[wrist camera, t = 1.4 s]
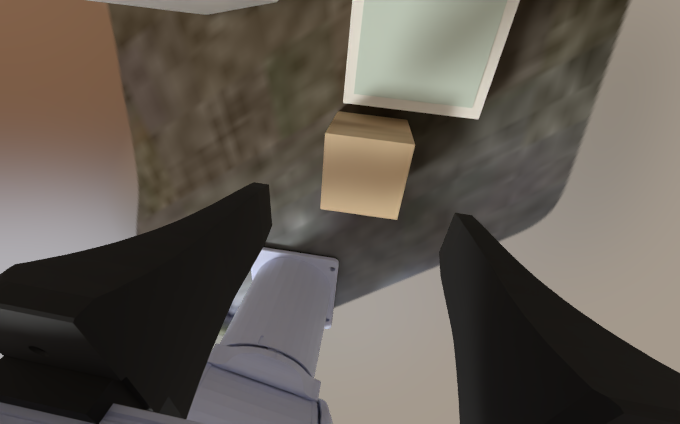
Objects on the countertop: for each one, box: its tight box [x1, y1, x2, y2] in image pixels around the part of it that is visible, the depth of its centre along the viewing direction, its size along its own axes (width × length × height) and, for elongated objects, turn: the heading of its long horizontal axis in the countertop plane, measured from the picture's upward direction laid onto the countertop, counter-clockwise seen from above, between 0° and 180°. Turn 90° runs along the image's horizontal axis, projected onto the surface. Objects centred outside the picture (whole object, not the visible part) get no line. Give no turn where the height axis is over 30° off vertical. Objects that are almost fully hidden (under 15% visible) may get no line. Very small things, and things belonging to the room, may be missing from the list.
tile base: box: [343, 0, 520, 119], centre depth 15 cm, size 8×8×2 cm
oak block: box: [320, 111, 415, 220], centre depth 17 cm, size 4×4×5 cm
